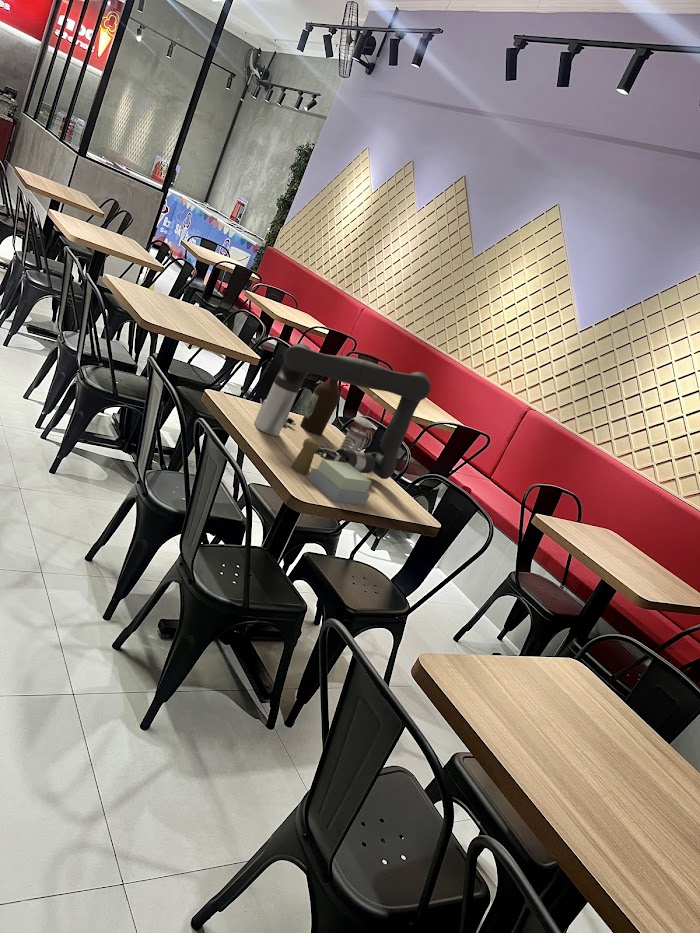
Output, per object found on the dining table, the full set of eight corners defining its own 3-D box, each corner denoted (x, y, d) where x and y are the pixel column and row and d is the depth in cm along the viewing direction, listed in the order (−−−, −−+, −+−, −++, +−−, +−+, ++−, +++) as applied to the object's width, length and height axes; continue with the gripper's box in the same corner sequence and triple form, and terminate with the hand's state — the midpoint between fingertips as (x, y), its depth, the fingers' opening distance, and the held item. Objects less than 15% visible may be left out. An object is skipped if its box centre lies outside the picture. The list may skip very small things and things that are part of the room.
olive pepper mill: (300, 466, 228) (314, 437, 225) (311, 475, 225) (325, 445, 222) (287, 465, 224) (301, 434, 221) (298, 474, 220) (312, 443, 217)
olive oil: (320, 429, 284) (345, 374, 278) (325, 438, 275) (352, 381, 268) (296, 420, 280) (322, 364, 274) (301, 429, 271) (327, 371, 264)
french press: (349, 449, 276) (376, 392, 269) (367, 463, 269) (395, 405, 262) (332, 446, 269) (359, 388, 262) (350, 460, 262) (379, 401, 255)
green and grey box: (307, 479, 220) (318, 457, 218) (338, 483, 230) (348, 462, 228) (334, 502, 211) (345, 479, 209) (364, 505, 221) (375, 483, 219)
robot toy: (294, 432, 268) (282, 414, 279) (299, 422, 266) (287, 404, 278) (266, 424, 261) (255, 406, 273) (271, 413, 259) (260, 396, 271)
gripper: (341, 441, 241) (308, 435, 229) (367, 461, 232) (334, 455, 220) (332, 460, 243) (299, 455, 231) (357, 480, 234) (324, 476, 222)
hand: (316, 455), depth 226 cm, fingers open, 8 cm apart
